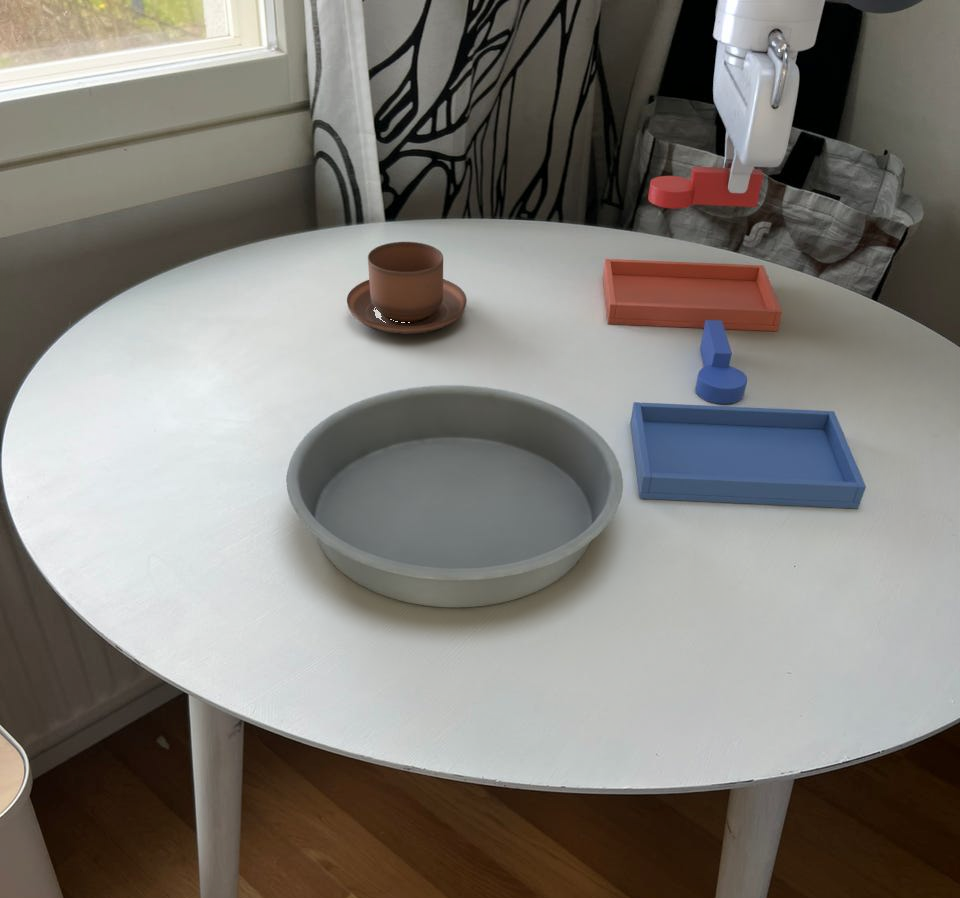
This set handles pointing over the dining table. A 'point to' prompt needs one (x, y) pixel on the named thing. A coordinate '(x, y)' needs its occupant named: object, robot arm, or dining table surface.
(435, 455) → the cake pan
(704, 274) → the tray red
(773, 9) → the robot arm
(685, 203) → the red lever handle
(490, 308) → the dining table surface
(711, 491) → the tray blue
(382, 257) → the cup and saucer
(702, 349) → the blue lever handle
